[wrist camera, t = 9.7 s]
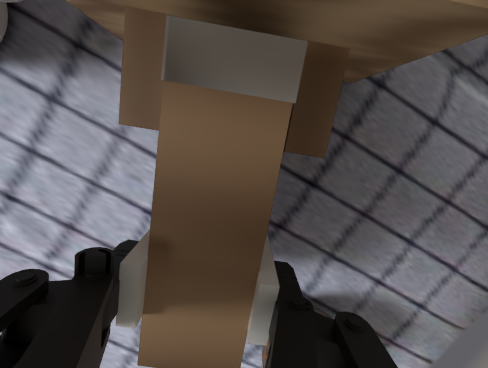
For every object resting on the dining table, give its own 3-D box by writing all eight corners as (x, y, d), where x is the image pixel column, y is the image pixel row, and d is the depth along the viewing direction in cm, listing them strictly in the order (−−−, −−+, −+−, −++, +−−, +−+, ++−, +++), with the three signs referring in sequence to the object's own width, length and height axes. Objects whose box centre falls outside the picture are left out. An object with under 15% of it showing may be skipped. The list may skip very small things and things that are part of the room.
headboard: (120, 116, 19) (-116, 104, 6) (127, -1, 17) (-177, -330, 5) (334, 152, 20) (498, 204, 7) (360, 43, 18) (636, -138, 6)
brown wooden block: (241, 294, 18) (240, 378, 12) (171, 284, 17) (135, 365, 12) (281, 74, 15) (307, 41, 9) (197, 59, 14) (166, 14, 9)
